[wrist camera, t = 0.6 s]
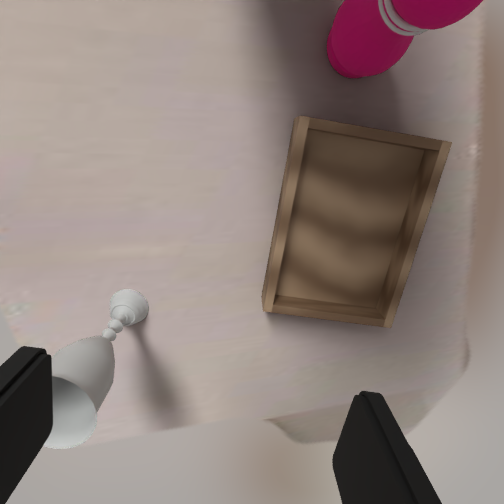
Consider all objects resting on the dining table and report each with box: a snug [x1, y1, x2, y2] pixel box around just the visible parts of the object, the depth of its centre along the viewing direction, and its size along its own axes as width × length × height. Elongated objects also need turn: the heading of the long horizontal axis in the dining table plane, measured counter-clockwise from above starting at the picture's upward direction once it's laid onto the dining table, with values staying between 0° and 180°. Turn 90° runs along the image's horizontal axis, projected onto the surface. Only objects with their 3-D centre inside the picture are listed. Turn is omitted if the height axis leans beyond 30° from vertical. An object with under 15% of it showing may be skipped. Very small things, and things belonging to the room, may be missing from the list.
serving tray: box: [262, 116, 452, 328], centre depth 38 cm, size 22×16×4 cm
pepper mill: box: [327, 0, 483, 78], centre depth 25 cm, size 7×7×20 cm
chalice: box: [43, 289, 149, 449], centre depth 34 cm, size 7×7×18 cm
